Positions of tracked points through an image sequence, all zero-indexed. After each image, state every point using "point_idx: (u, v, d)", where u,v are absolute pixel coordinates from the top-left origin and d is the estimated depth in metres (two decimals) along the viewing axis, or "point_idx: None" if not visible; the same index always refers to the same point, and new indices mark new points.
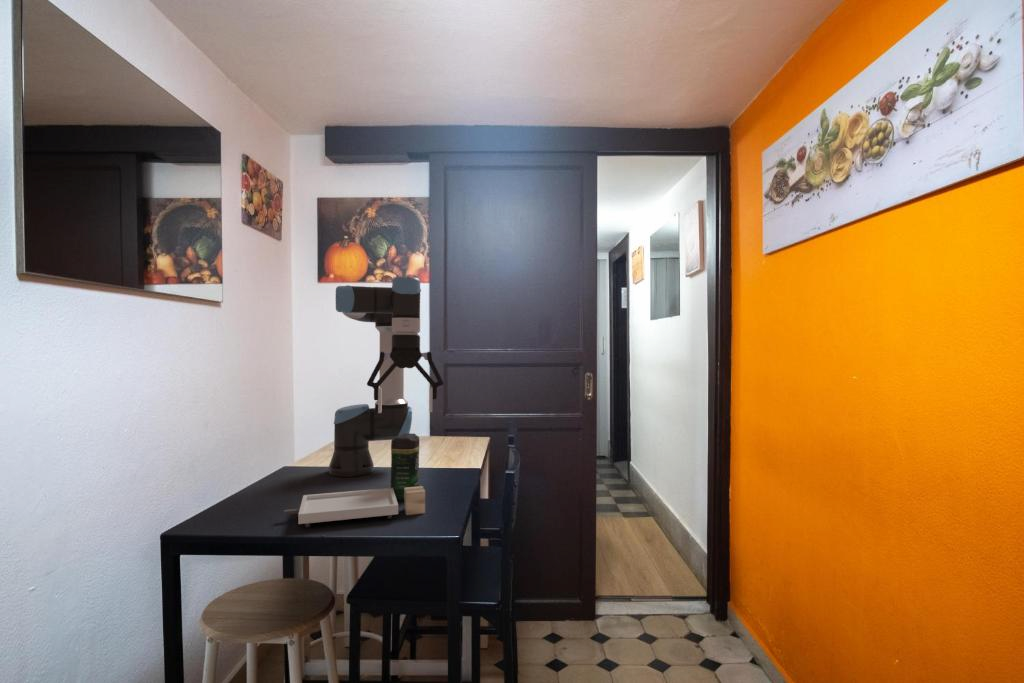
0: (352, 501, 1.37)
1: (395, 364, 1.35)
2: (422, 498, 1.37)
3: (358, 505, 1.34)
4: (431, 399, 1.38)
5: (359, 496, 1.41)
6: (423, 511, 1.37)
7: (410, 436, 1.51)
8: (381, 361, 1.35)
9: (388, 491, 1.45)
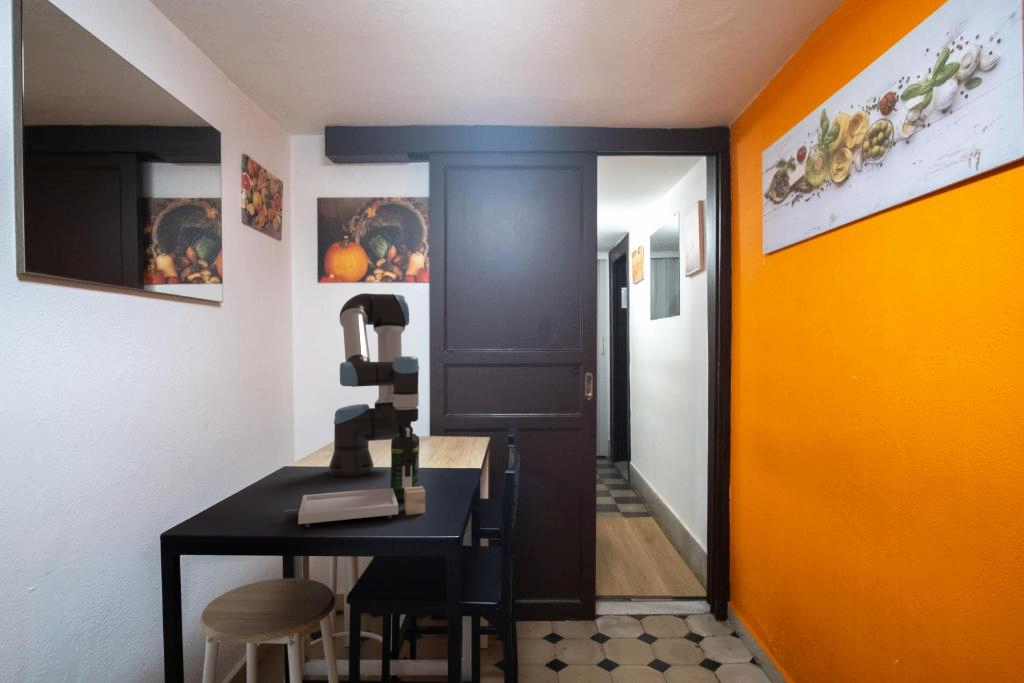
0: (352, 501, 1.37)
1: (398, 434, 1.53)
2: (422, 498, 1.37)
3: (358, 505, 1.34)
4: (402, 475, 1.46)
5: (359, 496, 1.41)
6: (423, 511, 1.37)
7: None
8: None
9: (388, 491, 1.45)
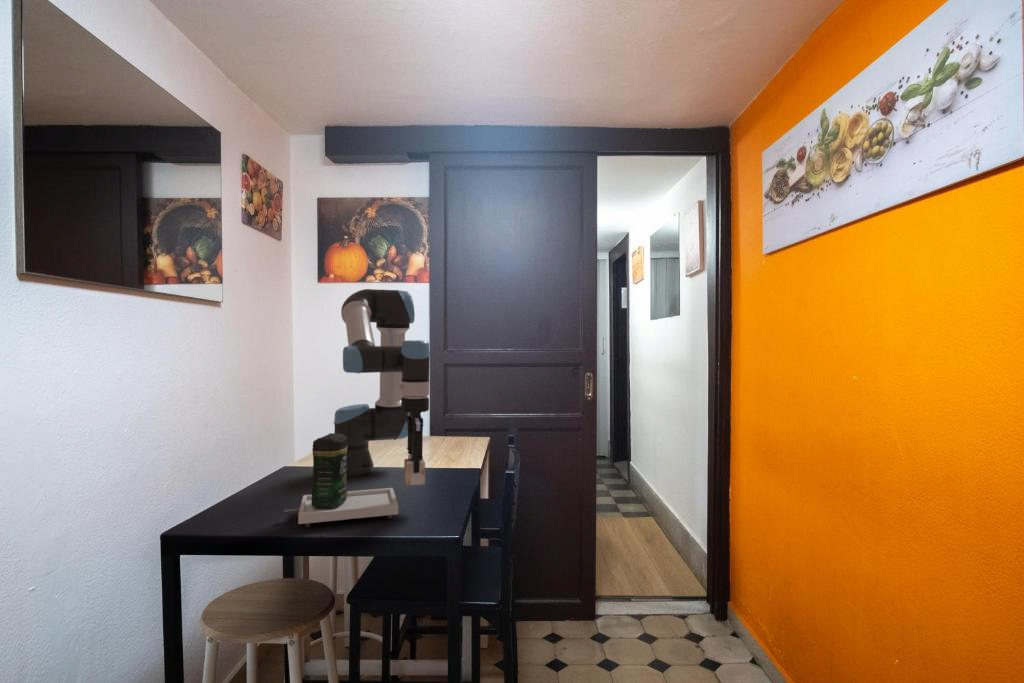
0: (352, 501, 1.37)
1: (407, 427, 1.40)
2: (422, 469, 1.37)
3: (358, 505, 1.34)
4: None
5: (359, 496, 1.41)
6: (423, 482, 1.37)
7: (335, 436, 1.34)
8: None
9: (388, 491, 1.45)
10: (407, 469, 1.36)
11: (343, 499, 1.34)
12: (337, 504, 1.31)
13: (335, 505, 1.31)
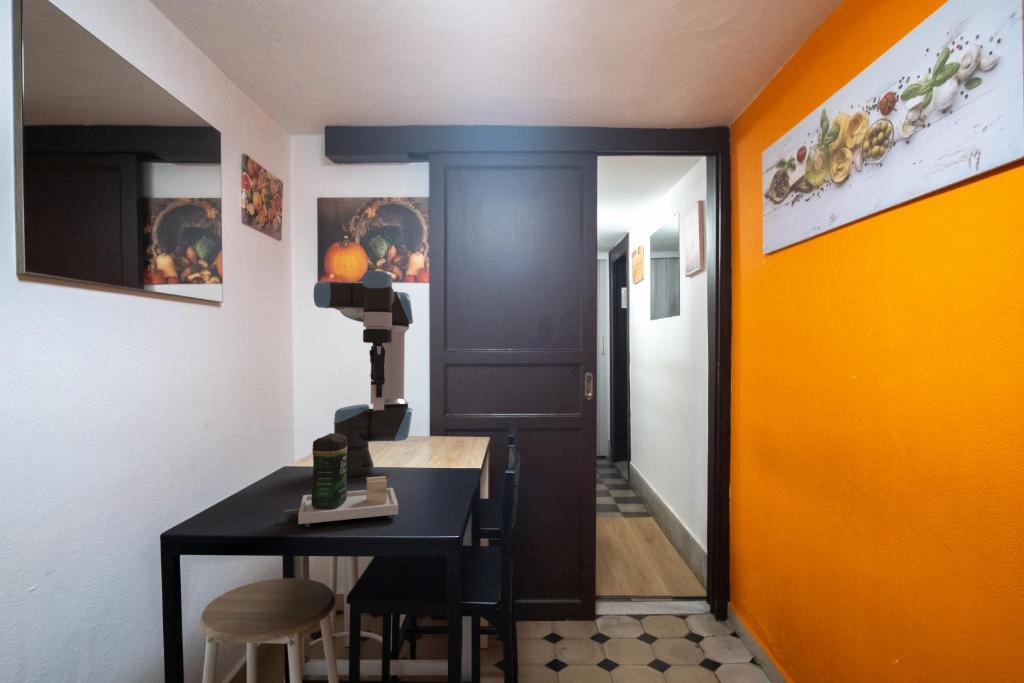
0: (352, 501, 1.37)
1: (370, 358, 1.39)
2: (384, 488, 1.35)
3: (358, 505, 1.34)
4: (373, 396, 1.30)
5: (359, 496, 1.41)
6: (384, 501, 1.36)
7: (335, 436, 1.34)
8: None
9: (388, 491, 1.45)
10: (368, 488, 1.34)
11: (343, 499, 1.34)
12: (337, 504, 1.31)
13: (335, 505, 1.31)
